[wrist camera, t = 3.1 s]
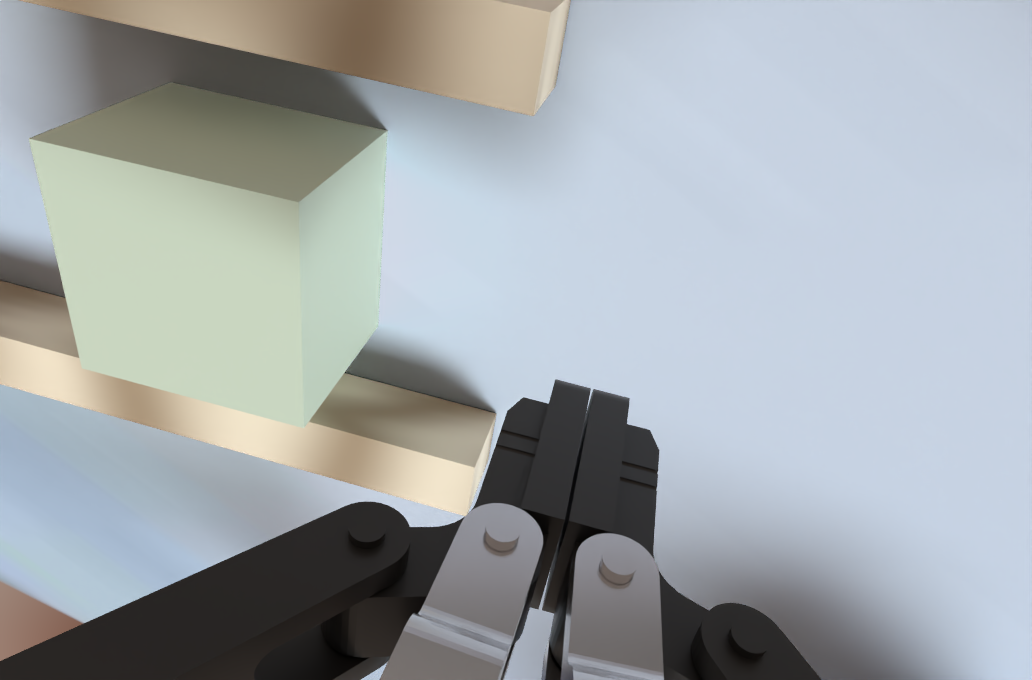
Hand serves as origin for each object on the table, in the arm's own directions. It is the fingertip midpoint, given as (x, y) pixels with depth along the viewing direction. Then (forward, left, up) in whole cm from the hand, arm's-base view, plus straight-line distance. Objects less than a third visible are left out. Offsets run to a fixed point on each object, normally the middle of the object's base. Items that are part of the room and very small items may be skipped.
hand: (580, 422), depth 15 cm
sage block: (+9, 0, -6) cm, 11 cm away
